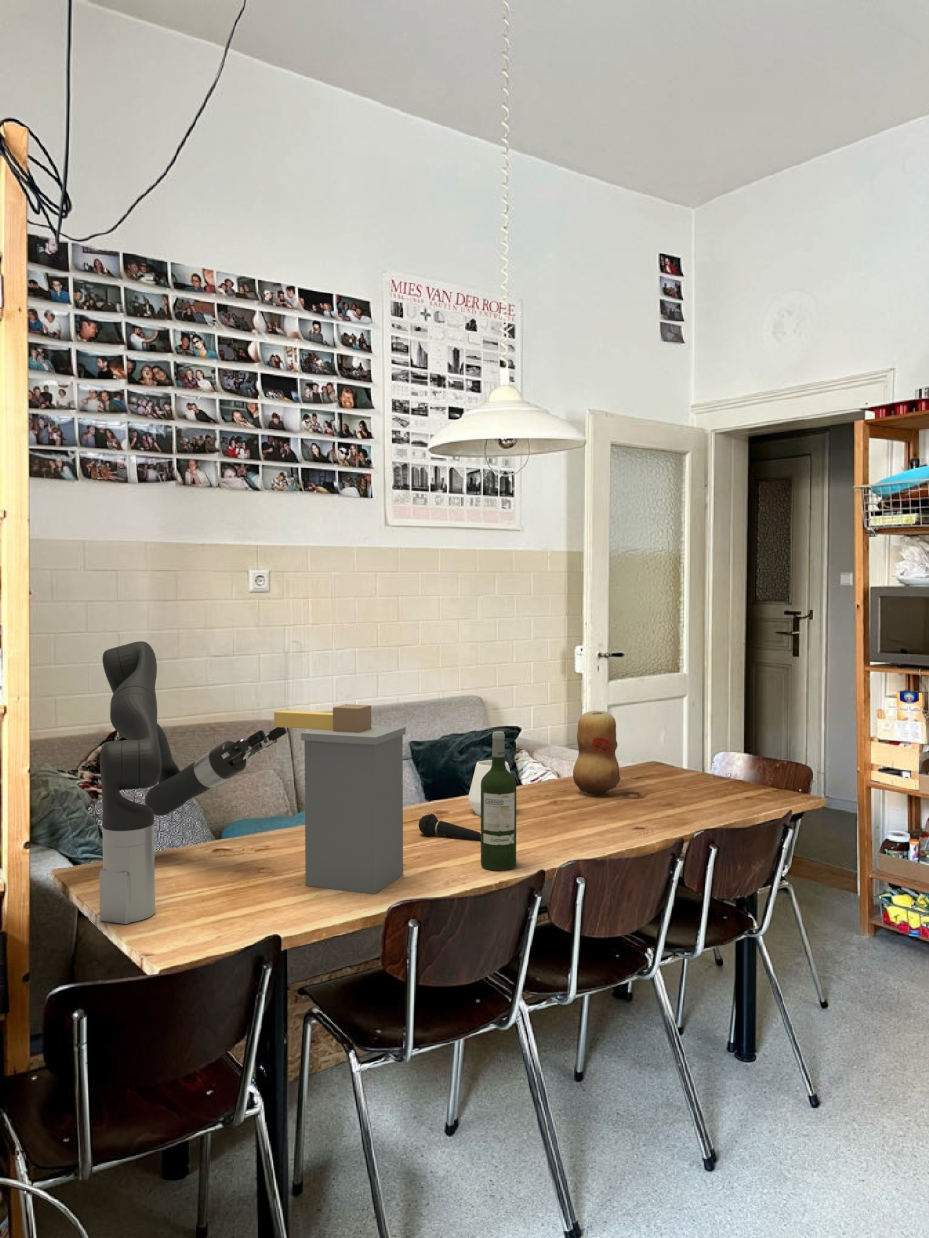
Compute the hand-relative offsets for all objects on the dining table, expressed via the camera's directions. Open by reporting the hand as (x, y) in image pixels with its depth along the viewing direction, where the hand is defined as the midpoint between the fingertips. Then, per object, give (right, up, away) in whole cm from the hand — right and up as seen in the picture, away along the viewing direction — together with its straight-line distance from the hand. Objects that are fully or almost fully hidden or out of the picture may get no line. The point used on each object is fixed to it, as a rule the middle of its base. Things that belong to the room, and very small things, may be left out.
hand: (274, 731), depth 207 cm
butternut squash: (+81, -28, +78) cm, 116 cm away
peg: (+11, +1, -4) cm, 11 cm away
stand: (+18, -31, -6) cm, 36 cm away
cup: (+49, -29, +54) cm, 79 cm away
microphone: (+39, -30, +28) cm, 57 cm away
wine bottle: (+49, -31, +4) cm, 58 cm away
